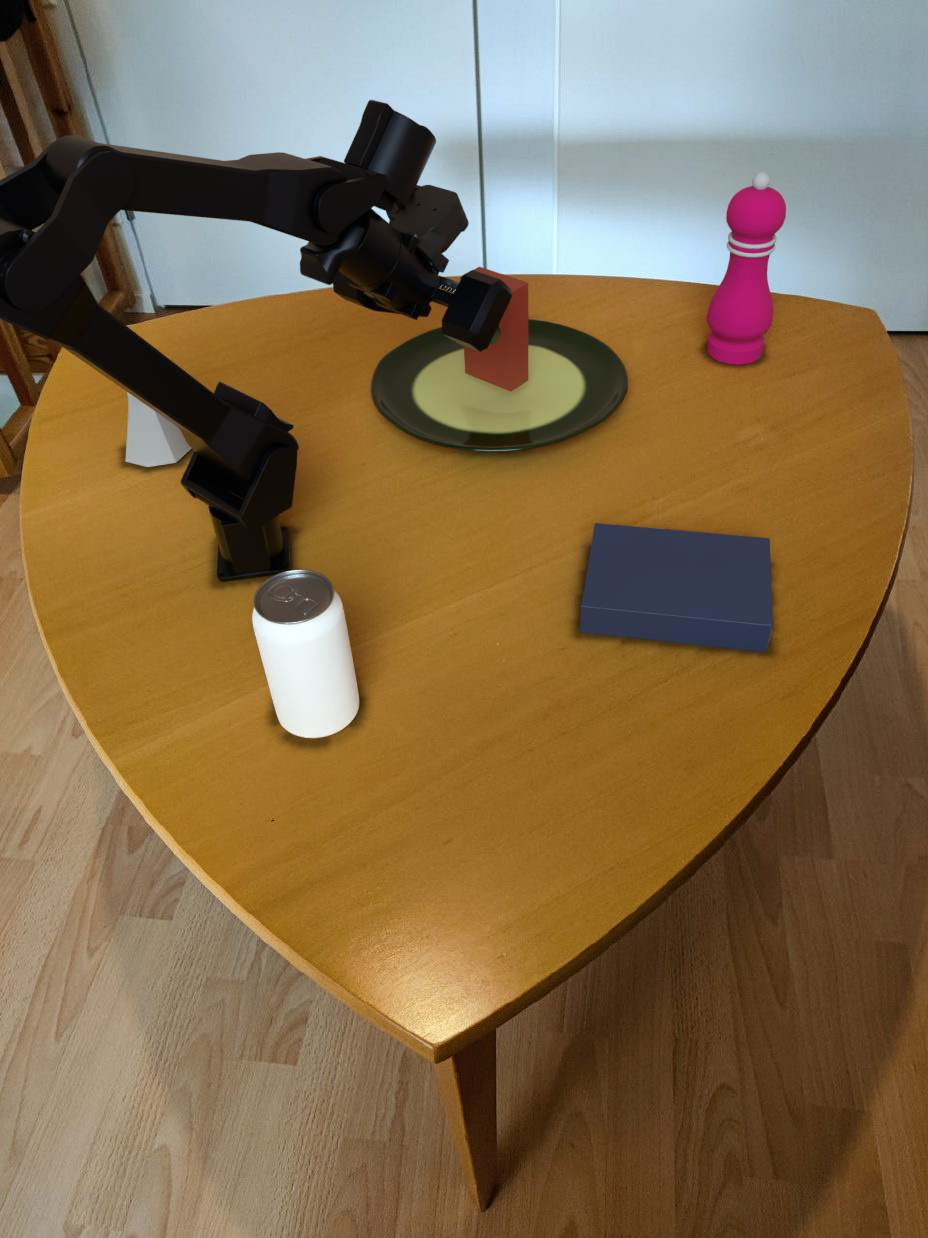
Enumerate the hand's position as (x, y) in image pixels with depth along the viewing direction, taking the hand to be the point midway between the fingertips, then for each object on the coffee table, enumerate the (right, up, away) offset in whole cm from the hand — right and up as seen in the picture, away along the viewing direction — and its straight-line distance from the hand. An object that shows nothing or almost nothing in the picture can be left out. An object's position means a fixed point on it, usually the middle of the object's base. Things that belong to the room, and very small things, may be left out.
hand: (462, 324), depth 100 cm
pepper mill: (+31, +1, +15) cm, 35 cm away
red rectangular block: (+4, -3, +8) cm, 10 cm away
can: (-11, -37, -22) cm, 44 cm away
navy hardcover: (+18, -28, -15) cm, 36 cm away
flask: (-32, -12, +5) cm, 35 cm away
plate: (+4, -5, +10) cm, 12 cm away
